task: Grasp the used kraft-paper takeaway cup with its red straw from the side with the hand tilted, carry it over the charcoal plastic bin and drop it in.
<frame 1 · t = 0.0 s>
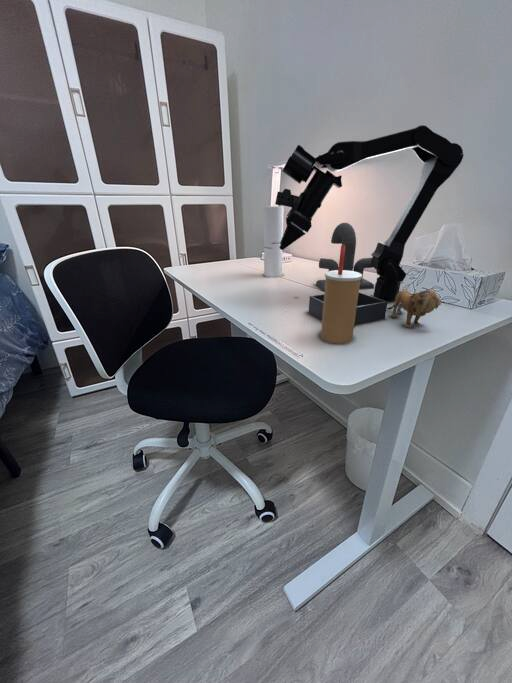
hand: (281, 246, 83), 15 cm above the table, tool tilted 35°, fingers open, 9 cm apart
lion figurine: (407, 322, 70), on the table
cylindrical container: (273, 275, 116), on the table
takeaway cup: (336, 337, 62), on the table
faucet: (339, 284, 103), on the table
bin: (345, 315, 74), on the table
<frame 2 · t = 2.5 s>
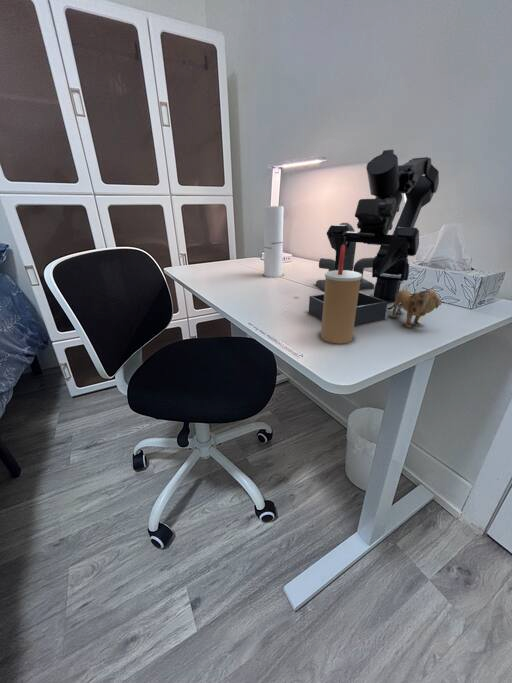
hand: (356, 271, 62), 13 cm above the table, tool tilted 45°, fingers open, 9 cm apart
nothing on the table moved.
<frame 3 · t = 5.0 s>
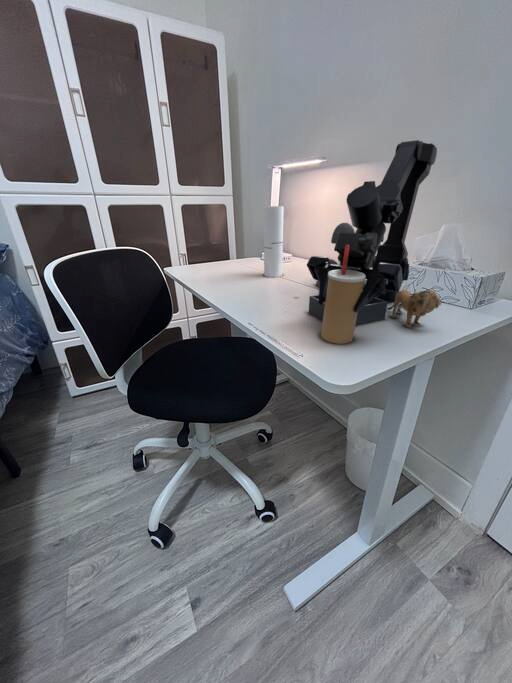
hand: (336, 307, 58), 7 cm above the table, tool tilted 45°, fingers closed on takeaway cup, 7 cm apart
takeaway cup: (336, 336, 62), on the table, touching gripper
everything else where it was.
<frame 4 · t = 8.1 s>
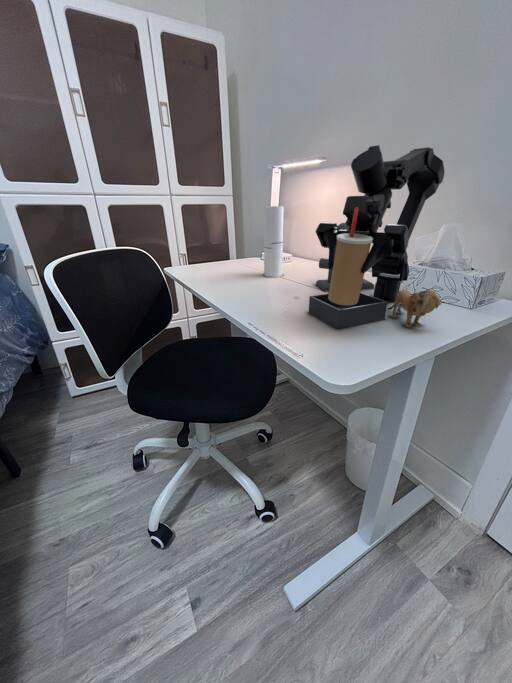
hand: (345, 270, 61), 13 cm above the table, tool tilted 45°, fingers closed on takeaway cup, 7 cm apart
takeaway cup: (343, 299, 66), point 6 cm above the table, tilted 7°, touching gripper
everything else where it was.
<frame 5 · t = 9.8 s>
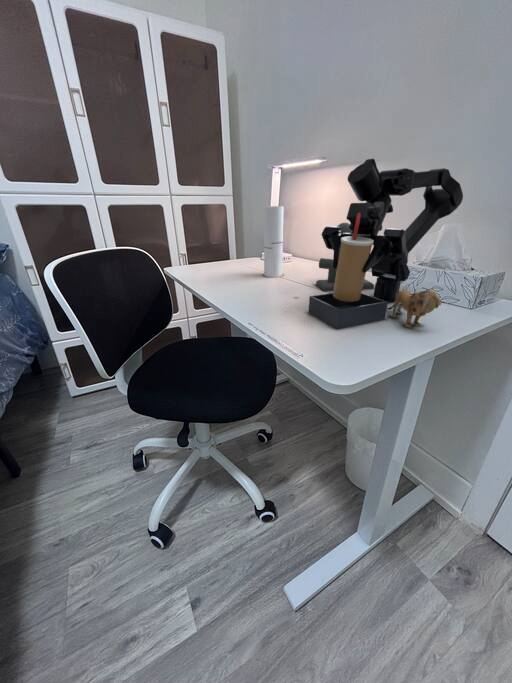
hand: (348, 269, 67), 12 cm above the table, tool tilted 45°, fingers closed on takeaway cup, 7 cm apart
takeaway cup: (346, 296, 72), point 5 cm above the table, tilted 6°, touching gripper
everything else where it was.
when the fingers open (10 cm above the table, at t = 11.1 s): takeaway cup drops 2 cm, resting on bin.
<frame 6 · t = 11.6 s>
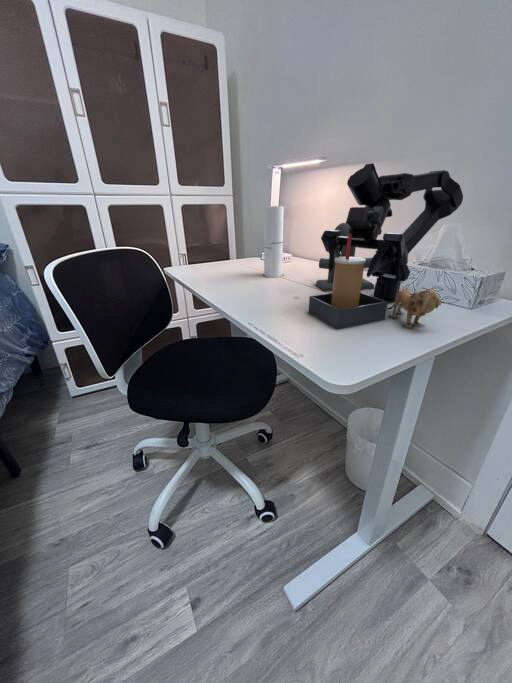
hand: (347, 273, 67), 11 cm above the table, tool tilted 45°, fingers open, 9 cm apart
takeaway cup: (343, 313, 74), point 1 cm above the table, touching bin
everything else where it was.
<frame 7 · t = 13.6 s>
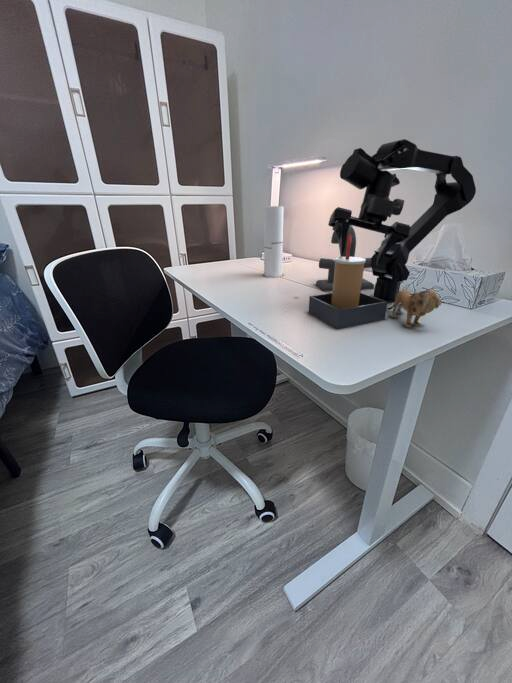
hand: (359, 259, 72), 13 cm above the table, tool tilted 30°, fingers open, 9 cm apart
nothing on the table moved.
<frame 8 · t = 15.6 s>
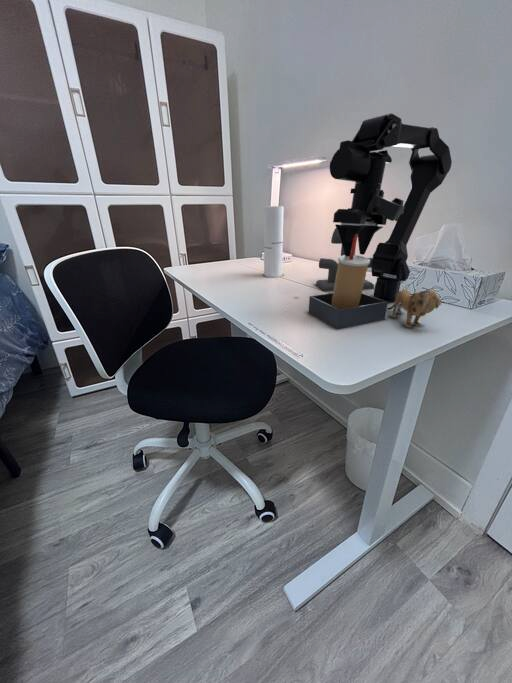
hand: (355, 255, 72), 14 cm above the table, tool pointing down, fingers open, 9 cm apart
takeaway cup: (343, 312, 74), point 1 cm above the table, tilted 7°, touching bin, gripper
everything else where it was.
at the end: takeaway cup inside the target area in the bin (0.6 cm from its centre), point 0.9 cm above the bin's base; the gripper is holding nothing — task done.
